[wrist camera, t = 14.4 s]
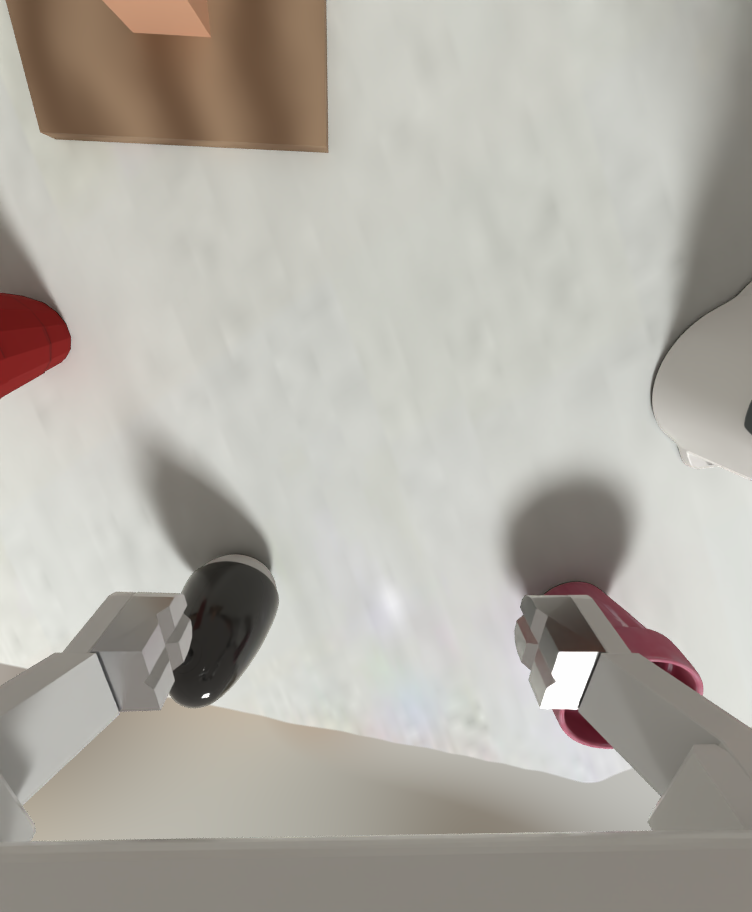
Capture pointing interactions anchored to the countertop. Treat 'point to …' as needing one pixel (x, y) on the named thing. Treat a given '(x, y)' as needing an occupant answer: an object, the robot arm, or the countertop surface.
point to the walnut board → (179, 75)
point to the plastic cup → (29, 340)
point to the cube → (163, 16)
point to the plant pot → (637, 642)
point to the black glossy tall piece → (223, 626)
